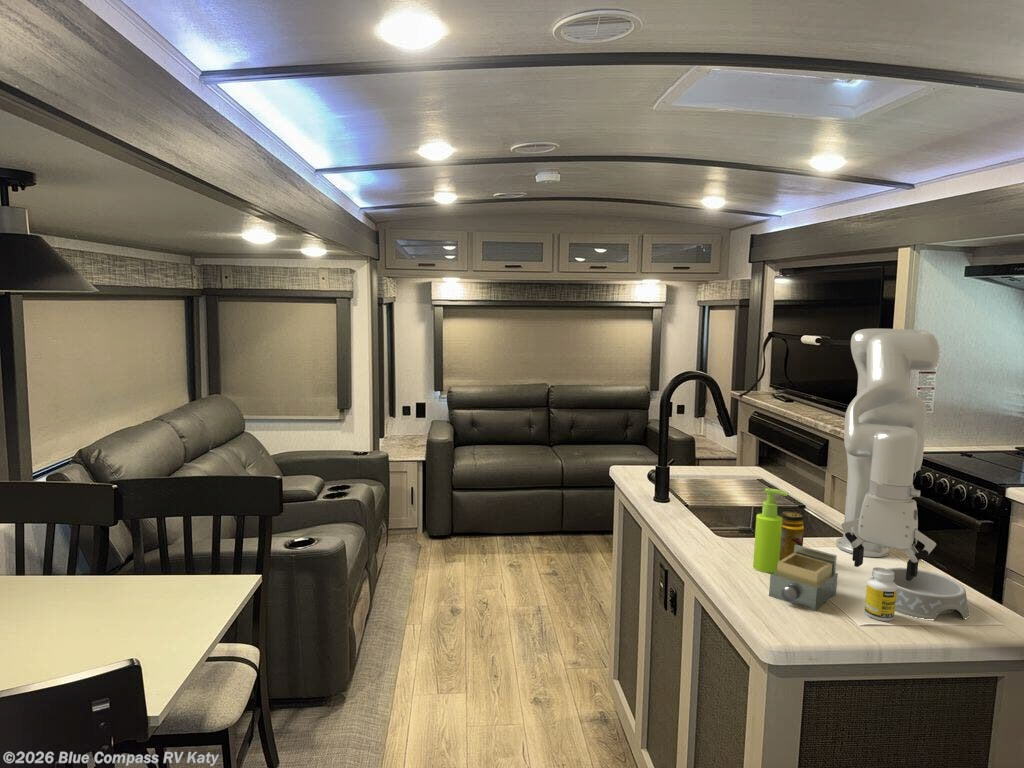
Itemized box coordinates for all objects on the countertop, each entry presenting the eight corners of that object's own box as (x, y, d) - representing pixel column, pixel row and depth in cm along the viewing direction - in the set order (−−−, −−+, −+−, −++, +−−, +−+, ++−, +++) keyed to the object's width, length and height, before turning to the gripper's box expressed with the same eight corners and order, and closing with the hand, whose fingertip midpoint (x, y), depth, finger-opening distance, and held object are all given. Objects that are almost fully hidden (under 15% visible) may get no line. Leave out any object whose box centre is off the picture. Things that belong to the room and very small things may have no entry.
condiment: (807, 565, 163) (811, 518, 162) (773, 563, 164) (776, 517, 162) (796, 554, 171) (800, 510, 169) (763, 553, 171) (766, 508, 170)
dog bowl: (855, 588, 150) (857, 566, 150) (928, 586, 153) (930, 564, 152) (909, 624, 134) (911, 598, 133) (989, 620, 136) (992, 595, 135)
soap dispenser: (779, 576, 156) (785, 494, 154) (750, 568, 160) (755, 489, 158) (785, 568, 160) (791, 489, 158) (757, 561, 165) (762, 484, 162)
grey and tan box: (791, 580, 153) (794, 544, 152) (836, 594, 146) (839, 556, 145) (764, 598, 143) (767, 558, 142) (811, 613, 136) (814, 572, 135)
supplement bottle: (882, 623, 133) (886, 577, 132) (858, 612, 138) (862, 567, 136) (900, 619, 135) (904, 573, 134) (876, 608, 140) (880, 564, 139)
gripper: (944, 496, 130) (936, 580, 131) (851, 480, 142) (845, 556, 143) (934, 503, 124) (926, 589, 126) (839, 485, 137) (832, 564, 138)
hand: (883, 572), depth 135 cm, fingers open, 9 cm apart
